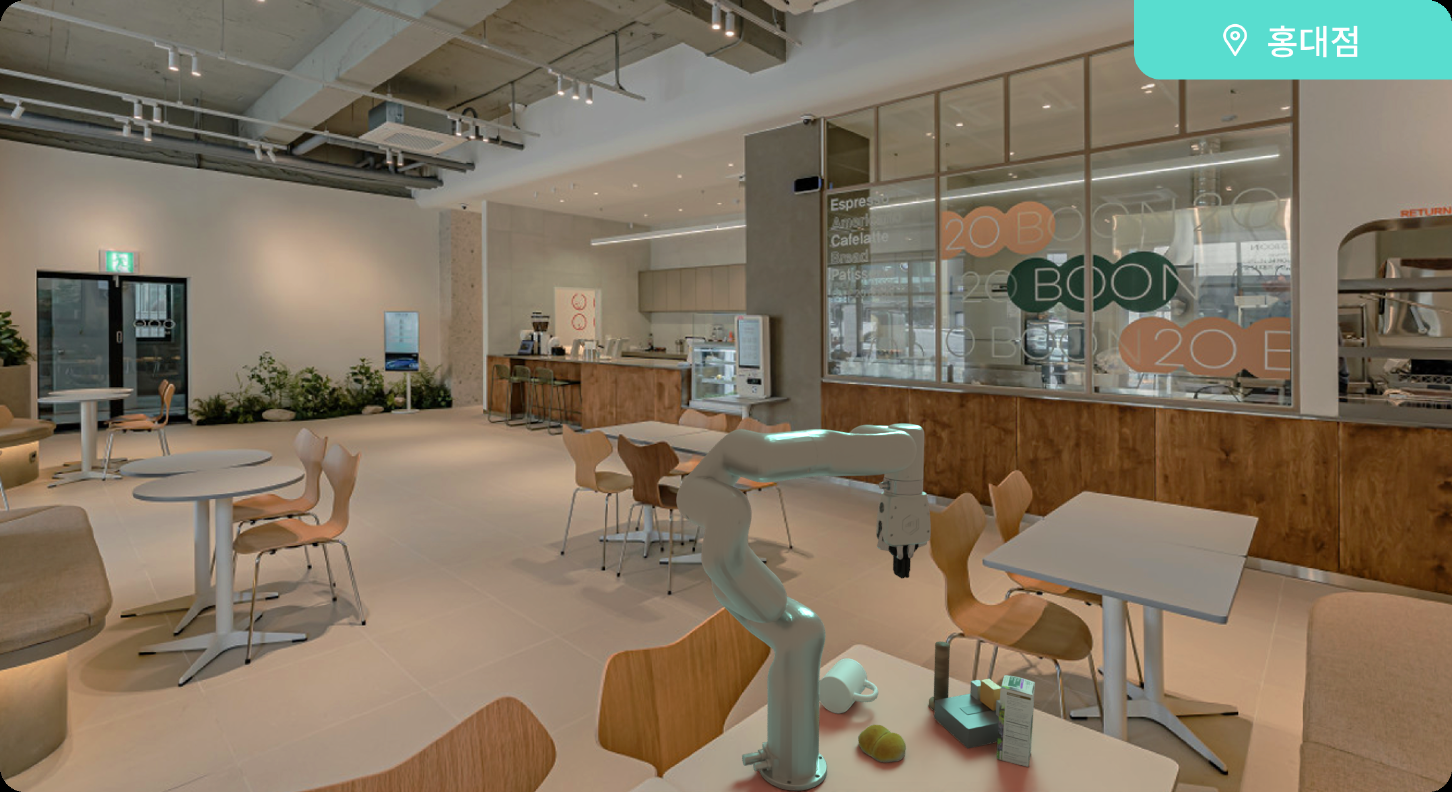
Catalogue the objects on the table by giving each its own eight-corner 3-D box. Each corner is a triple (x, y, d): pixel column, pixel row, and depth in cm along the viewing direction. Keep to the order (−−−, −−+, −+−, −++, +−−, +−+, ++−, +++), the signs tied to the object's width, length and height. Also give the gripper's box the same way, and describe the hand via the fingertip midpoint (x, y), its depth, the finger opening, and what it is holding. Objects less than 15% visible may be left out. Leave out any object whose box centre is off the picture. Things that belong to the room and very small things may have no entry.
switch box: (967, 748, 134) (968, 714, 134) (934, 718, 145) (935, 686, 144) (1026, 735, 138) (1027, 702, 138) (990, 707, 149) (991, 676, 148)
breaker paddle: (992, 710, 140) (993, 689, 139) (980, 700, 143) (980, 680, 143) (1001, 709, 140) (1001, 687, 140) (988, 699, 144) (988, 678, 144)
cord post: (937, 714, 146) (939, 651, 145) (924, 702, 151) (925, 641, 149) (957, 710, 148) (959, 648, 146) (943, 698, 152) (945, 638, 151)
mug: (816, 707, 149) (816, 672, 148) (834, 687, 157) (834, 654, 157) (869, 724, 143) (869, 687, 142) (885, 702, 151) (885, 667, 150)
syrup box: (999, 743, 136) (1002, 673, 134) (1032, 751, 133) (1035, 680, 132) (996, 759, 131) (998, 686, 129) (1030, 768, 128) (1033, 694, 127)
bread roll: (889, 770, 128) (890, 750, 128) (851, 748, 135) (852, 729, 134) (915, 752, 133) (915, 733, 133) (877, 732, 140) (877, 713, 140)
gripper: (879, 493, 131) (878, 586, 133) (947, 487, 135) (944, 578, 137) (860, 484, 138) (859, 573, 140) (925, 479, 142) (922, 566, 144)
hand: (901, 575), depth 138 cm, fingers closed
